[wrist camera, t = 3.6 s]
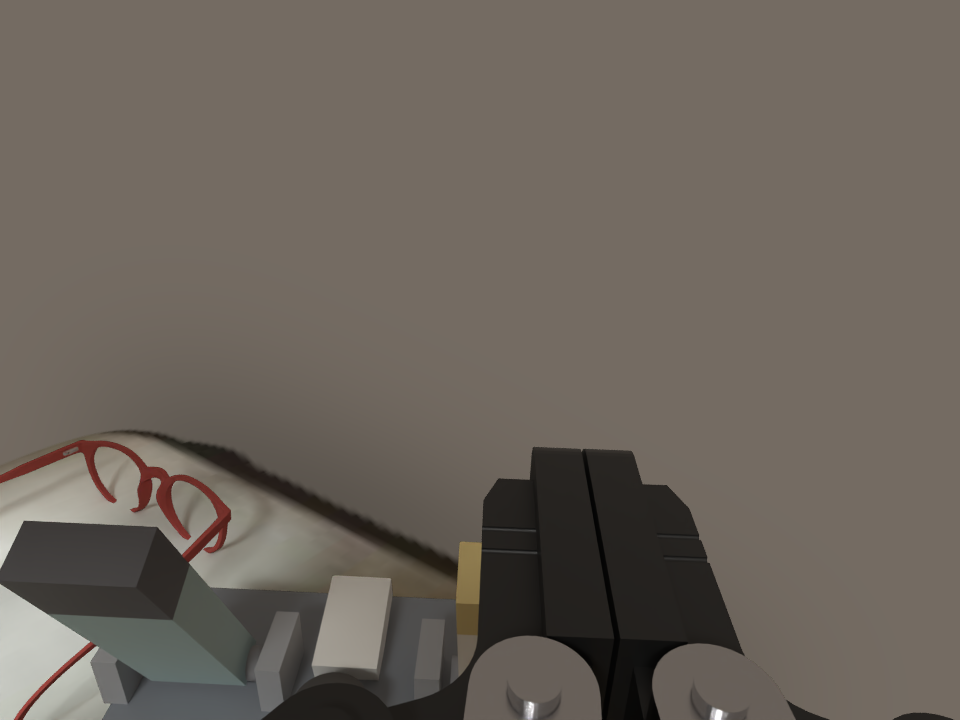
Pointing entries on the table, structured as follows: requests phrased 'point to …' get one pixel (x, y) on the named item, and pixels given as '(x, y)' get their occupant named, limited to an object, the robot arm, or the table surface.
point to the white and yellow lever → (467, 606)
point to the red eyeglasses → (144, 496)
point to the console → (305, 653)
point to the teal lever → (131, 600)
